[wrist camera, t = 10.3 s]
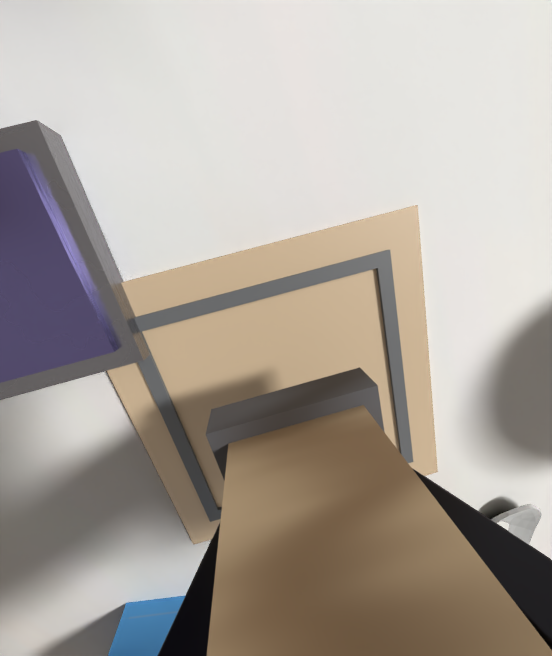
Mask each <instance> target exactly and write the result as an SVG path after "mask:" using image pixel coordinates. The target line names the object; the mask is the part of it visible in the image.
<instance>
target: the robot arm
mask: <svg viewBox="0 0 552 656" xmlns="http://www.w3.org/2000/svg"><path fill="white" fill-rule="evenodd" d="M412 469H413V468H412ZM413 470H414V469H413ZM414 472H415V473H416V474H417V476H418V477H419V478H420V479H421V481H422V482H423V483H424V485H425V486H426V487H427V489H428V490H429V491H430V492H431V494H432V495H433V496H434V498H435V499H436V500H437V502H438V503H439V504H440V506H441V507H442V508H443V509H444V511H445V512H446V513H447V515H448V516H449V517H450V519H451V520H452V521H453V522H454V524H455V525H456V526H457V528H458V529H459V530H460V532H461V533H462V534H463V535H464V537H465V538H466V539H467V541H468V542H469V543H470V545H471V546H472V547H473V549H474V550H475V551H476V552H477V554H478V555H479V556H480V558H481V559H482V560H483V562H484V563H485V564H486V565H487V567H488V568H489V569H490V571H491V572H492V573H493V575H494V576H495V577H496V578H497V580H498V581H499V582H500V584H501V585H502V586H503V588H504V589H505V590H506V592H507V593H508V594H509V595H510V597H511V598H512V599H513V601H514V602H515V603H516V605H517V606H518V607H519V608H520V610H521V611H522V612H523V614H524V615H525V616H526V618H527V619H528V620H529V621H530V623H531V624H532V625H533V627H534V628H535V629H536V631H537V632H538V633H539V635H540V636H541V637H542V638H543V640H544V641H545V642H546V644H547V645H548V646H549V648H550V649H551V650H552V560H551V559H550V558H549V557H547V556H545V555H544V554H542V553H541V552H539V551H538V550H536V549H535V548H533V547H532V546H530V545H529V544H527V543H526V542H524V541H523V540H521V539H520V538H518V537H517V536H515V535H513V534H512V533H510V532H509V531H507V530H506V529H504V528H503V527H501V526H500V525H498V524H497V523H495V522H494V521H492V520H491V519H489V518H488V517H486V516H485V515H483V514H482V513H480V512H478V511H477V510H475V509H474V508H472V507H471V506H469V505H468V504H466V503H465V502H463V501H462V500H460V499H459V498H457V497H456V496H454V495H453V494H451V493H450V492H448V491H446V490H445V489H443V488H442V487H440V486H439V485H437V484H436V483H434V482H433V481H431V480H430V479H428V478H427V477H425V476H424V475H422V474H421V473H419V472H418V471H416V470H414ZM219 530H220V523H219V525H218V527H217V529H216V532H215V534H214V536H213V538H212V540H211V542H210V544H209V546H208V549H207V551H206V553H205V555H204V557H203V559H202V561H201V564H200V566H199V568H198V570H197V572H196V574H195V576H194V579H193V581H192V583H191V585H190V587H189V589H188V591H187V594H186V596H185V598H184V600H183V602H182V604H181V606H180V608H179V611H178V613H177V615H176V617H175V619H174V621H173V623H172V626H171V628H170V630H169V632H168V634H167V636H166V638H165V641H164V643H163V645H162V647H161V649H160V651H159V653H158V655H157V656H207V647H208V638H209V628H210V618H211V608H212V599H213V589H214V579H215V569H216V560H217V550H218V540H219Z"/></svg>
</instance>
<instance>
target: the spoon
mask: <svg viewBox="0 0 552 656" xmlns="http://www.w3.org/2000/svg"><path fill="white" fill-rule="evenodd" d="M540 518H541V511H540V509H539V508H538V507H537V506H535V505H533V504H527V505H523V506H520V507H517V508H514V509H512V510H509V511H506V512H504V513H502V514H499V515H497V516H495V517H493V518H492V519H491V520H492V521H494V522H495V523H498V522H500V521H503V522H507V523H509V524H510V525H509V530H508V531H509V532H510V533H512V534H513V535H515V536H517V537H518V538H520V539H521V540H523V541H524V542H526V543H527V544H529V543H530V540H531V538H532V535H533V532H534V530H535V528H536V526H537V524H538V522H539V520H540Z"/></svg>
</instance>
